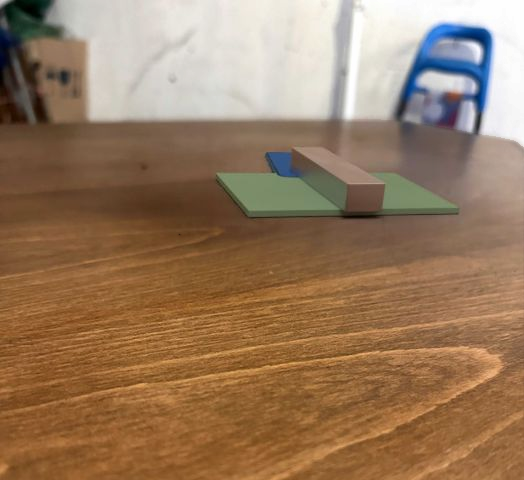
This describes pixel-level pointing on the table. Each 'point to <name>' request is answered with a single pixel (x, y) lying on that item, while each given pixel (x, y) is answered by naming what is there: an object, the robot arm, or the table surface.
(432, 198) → the mat
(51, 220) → the table surface
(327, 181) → the strip
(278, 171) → the smartphone
